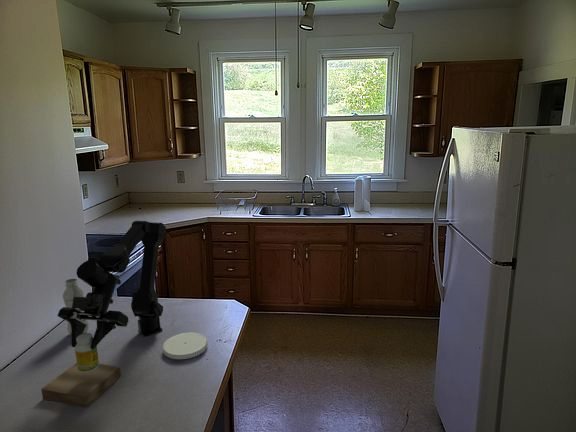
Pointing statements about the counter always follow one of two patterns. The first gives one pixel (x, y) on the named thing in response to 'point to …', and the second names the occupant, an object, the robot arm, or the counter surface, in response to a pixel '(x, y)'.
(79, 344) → the supplement bottle
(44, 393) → the walnut plinth
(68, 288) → the plastic bottle
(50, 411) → the counter surface
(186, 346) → the plastic lid
